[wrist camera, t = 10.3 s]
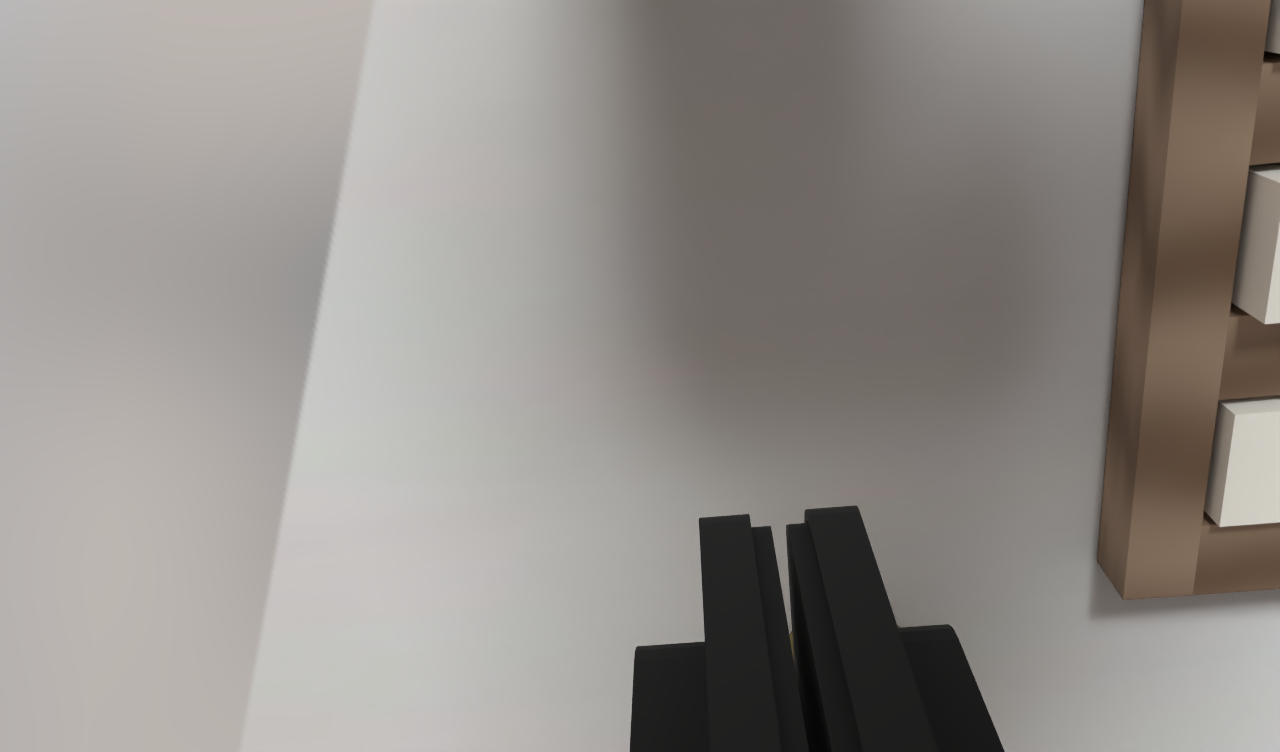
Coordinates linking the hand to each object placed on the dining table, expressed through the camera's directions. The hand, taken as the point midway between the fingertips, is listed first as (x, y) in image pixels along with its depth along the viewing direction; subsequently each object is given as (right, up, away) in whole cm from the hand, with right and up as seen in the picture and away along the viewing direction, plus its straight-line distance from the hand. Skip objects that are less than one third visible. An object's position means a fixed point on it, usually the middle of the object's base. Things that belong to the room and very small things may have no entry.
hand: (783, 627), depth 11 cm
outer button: (+21, +1, +26) cm, 33 cm away
